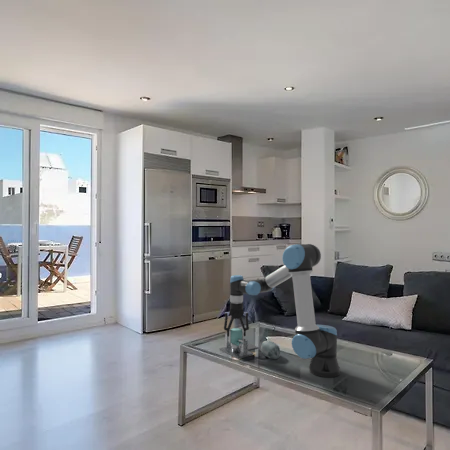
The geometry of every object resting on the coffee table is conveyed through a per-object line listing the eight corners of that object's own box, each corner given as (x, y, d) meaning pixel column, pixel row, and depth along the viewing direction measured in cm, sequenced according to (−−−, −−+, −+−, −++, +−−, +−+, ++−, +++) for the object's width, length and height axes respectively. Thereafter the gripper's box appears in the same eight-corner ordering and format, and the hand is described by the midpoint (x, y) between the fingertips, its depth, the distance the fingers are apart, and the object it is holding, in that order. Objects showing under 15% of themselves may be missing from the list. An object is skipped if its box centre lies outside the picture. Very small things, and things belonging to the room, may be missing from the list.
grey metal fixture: (253, 355, 215) (253, 339, 215) (237, 358, 208) (237, 342, 208) (234, 346, 229) (234, 331, 229) (219, 349, 223) (219, 334, 223)
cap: (243, 345, 213) (243, 332, 213) (231, 345, 212) (231, 333, 212) (240, 338, 226) (240, 326, 226) (228, 338, 225) (229, 327, 225)
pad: (258, 348, 227) (258, 347, 227) (247, 350, 223) (247, 349, 223) (250, 344, 234) (250, 343, 234) (239, 346, 229) (239, 345, 229)
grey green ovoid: (286, 354, 207) (276, 337, 208) (272, 363, 204) (262, 347, 205) (277, 352, 220) (268, 337, 221) (264, 361, 217) (255, 345, 218)
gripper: (252, 300, 224) (252, 339, 223) (219, 301, 222) (218, 340, 222) (254, 303, 216) (254, 343, 216) (219, 303, 214) (219, 344, 214)
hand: (236, 341), depth 219 cm, fingers closed on cap, 7 cm apart
